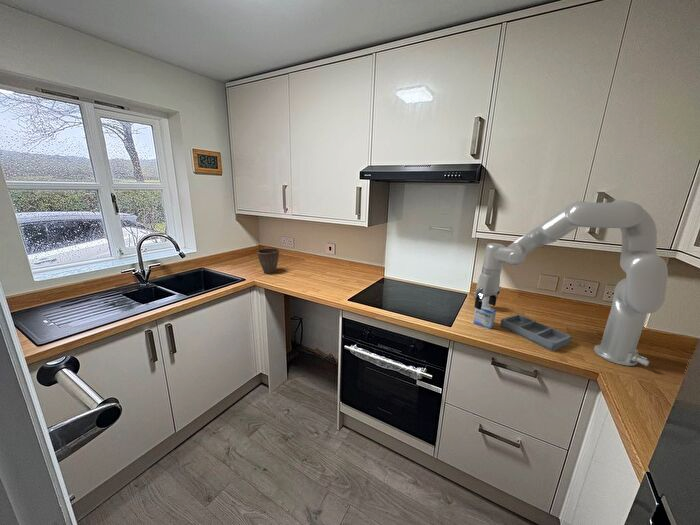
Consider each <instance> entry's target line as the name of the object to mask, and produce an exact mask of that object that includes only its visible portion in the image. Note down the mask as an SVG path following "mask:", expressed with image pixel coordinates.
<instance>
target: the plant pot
mask: <svg viewBox="0 0 700 525" xmlns="http://www.w3.org/2000/svg"><path fill="white" fill-rule="evenodd" d="M256 252H257V253H256V254H257V257H258V261H259V263H260V267H261V268H262V271H263V272H264V274H266V275H270V274H275V273H276V270H277V268H278V262H279V255H280V250H279V248H270V247H269V248H262V249H261V248H260V249H258V250H257V251H256Z"/></svg>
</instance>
